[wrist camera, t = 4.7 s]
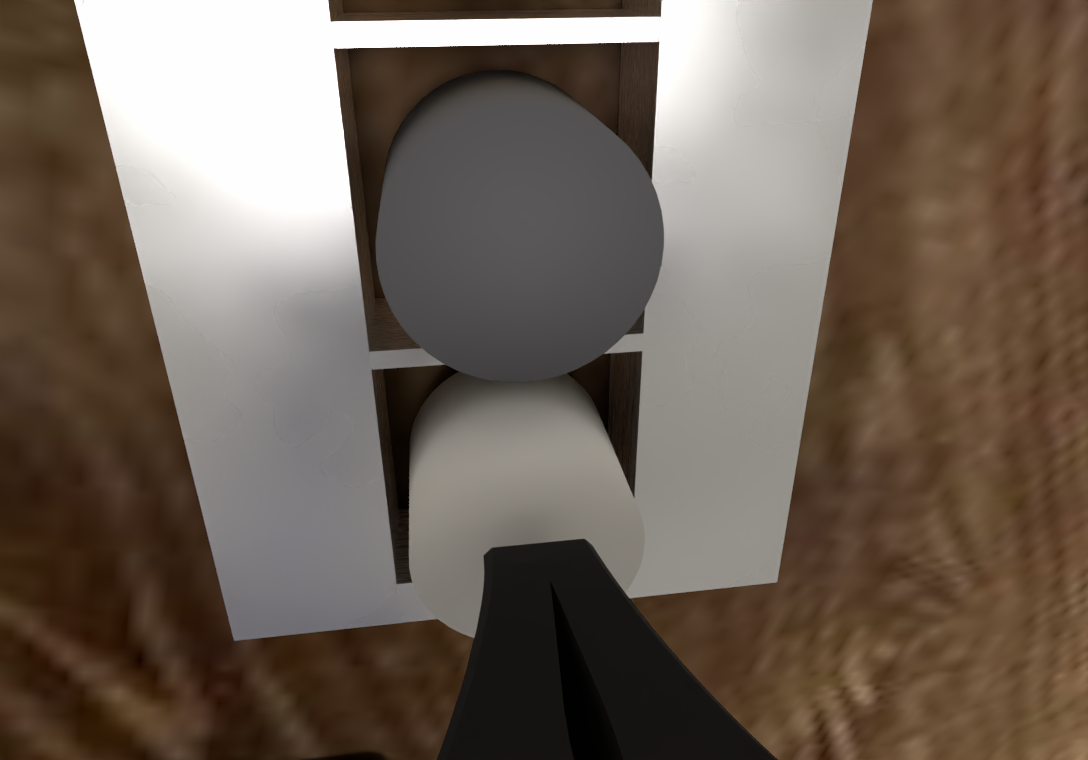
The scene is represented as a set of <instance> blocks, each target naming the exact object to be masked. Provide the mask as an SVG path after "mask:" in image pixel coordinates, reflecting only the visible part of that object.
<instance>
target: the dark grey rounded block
mask: <svg viewBox="0 0 1088 760" xmlns="http://www.w3.org/2000/svg"><path fill="white" fill-rule="evenodd" d="M663 250H664V225H663V218H662V210H661V207H660V203H659V200H658V196H657V193H656V190H655V188H654V186H653V183H652V181H651V179H650V176H649V175H648V173H647V171H646V170H645V168H644V166H643V165H642V163H641V161H640V160H639V159H638V157H637V156H636V155H635V154H634V153H633V151H632V150H631V149H630V148H629V147H628V145H627V144H626V143H624V142H623V141H622V140H621V139H620V138H619V137H618V136H617V135H616V134H615V133H614V132H612V131H611V130H610V129H609V128H608V127H606V126H605V125H604V124H603V123H602V122H600V121H599V120H598V119H597V118H596V117H594V116H593V115H592V114H591V113H590V112H588V111H587V110H586V109H585V108H584V107H582V106H581V105H580V104H579V103H578V102H576V101H575V100H574V99H573V98H572V97H570V96H569V95H568V94H567V93H565V92H564V91H562V90H561V89H559V88H558V87H556V86H555V85H553V84H551V83H549V82H547V81H545V80H543V79H541V78H538V77H535V76H532V75H529V74H526V73H520V72H515V71H505V70H491V71H480V72H476V73H471V74H467V75H463V76H461V77H458V78H456V79H453V80H451V81H448V82H447V83H445V84H443V85H441V86H440V87H438V88H436V89H435V90H433V91H432V92H431V93H429V94H428V95H427V96H425V97H424V98H423V99H422V100H421V101H420V102H419V103H418V104H417V105H416V106H415V107H414V108H413V109H412V110H411V111H410V113H409V114H408V115H407V117H406V118H405V119H404V121H403V122H402V124H401V126H400V127H399V129H398V131H397V133H396V135H395V137H394V139H393V142H392V144H391V147H390V149H389V153H388V157H387V161H386V166H385V173H384V180H383V187H382V194H381V202H380V209H379V216H378V223H377V233H376V263H377V269H378V274H379V280H380V283H381V286H382V289H383V292H384V295H385V298H386V300H387V302H388V304H389V306H390V308H391V310H392V312H393V314H394V316H395V317H396V319H397V320H398V322H399V323H400V325H401V326H402V328H403V329H404V330H405V331H406V332H407V334H408V335H409V336H410V337H411V338H412V339H413V340H414V342H416V343H417V344H418V345H419V346H420V347H421V348H422V349H424V350H425V351H426V352H427V353H428V354H430V355H431V356H433V357H434V358H436V359H437V360H439V361H440V362H441V363H443V364H445V365H447V366H449V367H451V368H453V369H455V370H457V371H460V372H462V373H465V374H468V375H471V376H474V377H478V378H482V379H486V380H491V381H500V382H531V381H538V380H544V379H548V378H552V377H556V376H560V375H563V374H566V373H568V372H571V371H574V370H576V369H578V368H580V367H582V366H584V365H586V364H588V363H590V362H592V361H593V360H595V359H596V358H598V357H599V356H601V355H602V354H604V353H605V352H607V351H608V350H609V349H610V348H611V347H612V346H614V345H615V344H616V343H617V342H618V341H619V340H620V339H621V338H622V337H623V336H624V335H625V334H626V333H627V332H628V331H629V330H630V329H631V327H632V326H633V325H634V323H635V322H636V321H637V319H638V318H639V316H640V315H641V314H642V312H643V310H644V309H645V307H646V305H647V303H648V301H649V299H650V298H651V295H652V293H653V290H654V288H655V285H656V283H657V280H658V276H659V272H660V268H661V265H662V258H663Z"/></svg>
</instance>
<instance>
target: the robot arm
mask: <svg viewBox="0 0 1088 760" xmlns="http://www.w3.org/2000/svg"><path fill="white" fill-rule="evenodd" d="M483 557H484V586H483V595H482V602H481V608H480V613H479V619H478V625H477V629H476V633H475V637H474V641H473V645H472V649H471V654H470V658H469V662H468V666H467V670H466V673H465V677H464V680H463V684H462V687H461V690H460V693H459V696H458V699H457V702H456V705H455V709H454V712H453V715H452V718H451V721H450V724H449V727H448V730H447V733H446V736H445V739H444V742H443V745H442V747H441V750H440V753H439V755H438V758H437V760H778V759H777V758H775V757H774V756H773V755H772V754H771V753H770V752H769V751H768V750H767V749H766V748H765V747H763V746H762V745H761V744H760V743H759V742H758V741H757V740H756V739H755V738H754V737H753V736H752V735H751V734H750V733H749V732H748V731H747V730H746V729H745V728H744V727H743V726H742V725H741V724H740V723H739V722H738V721H737V720H736V719H735V718H734V717H733V716H732V715H731V714H730V713H729V712H728V711H727V710H726V709H725V708H724V707H723V706H722V705H721V704H720V703H719V702H718V701H717V700H716V699H715V698H714V697H713V696H712V695H711V694H710V692H709V691H708V690H707V689H706V688H705V687H704V686H703V685H702V684H701V683H700V682H699V681H698V680H697V679H696V678H695V676H694V675H693V674H692V673H691V672H690V671H689V670H688V669H687V667H686V666H685V665H684V664H683V663H682V662H681V661H680V660H679V658H678V657H677V656H676V655H675V654H674V653H673V651H672V650H671V649H670V648H669V647H668V645H667V644H666V643H665V642H664V641H663V639H662V638H661V637H660V636H659V635H658V634H657V632H656V631H655V630H654V629H653V628H652V626H651V625H650V624H649V623H648V621H647V620H646V619H645V618H644V616H643V615H642V614H641V613H640V611H639V610H638V609H637V608H636V606H635V605H634V604H633V602H632V601H631V600H630V598H629V597H628V596H627V594H626V593H625V592H624V590H623V589H622V588H621V586H620V585H619V584H618V582H617V581H616V579H615V578H614V577H613V575H612V574H611V572H610V571H609V570H608V568H607V567H606V565H605V564H604V562H603V561H602V559H601V558H600V556H599V555H598V553H597V552H596V550H595V548H594V547H593V545H592V544H590V543H589V542H588V541H587V540H586V539H574V540H564V541H554V542H544V543H533V544H523V545H513V546H503V547H492V548H491V549H490V550H489V551H488V552H487V553H486V554H484V555H483Z"/></svg>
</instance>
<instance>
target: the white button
mask: <svg viewBox="0 0 1088 760" xmlns="http://www.w3.org/2000/svg"><path fill="white" fill-rule="evenodd" d="M574 539H586V540H587V541H588V542H589V543H590V544H592V545H593V547H594V548H595V550H596V552H597V553H598V555H599V556H600V558H601V559H602V561H603V562H604V564H605V565H606V567H607V568H608V570H609V571H610V572H611V574H612V575H613V577H614V578H615V579H616V581H617V582H618V584H619V585H620V586H621V588H622V589H623V590H624V592H626V591H627V590H628V588H629V587H630V585H631V584H632V582H633V580H634V579H635V576H636V574H637V572H638V570H639V568H640V564H641V561H642V558H643V553H644V546H645V532H644V526H643V521H642V518H641V515H640V512H639V509H638V507H637V504H636V502H635V500H634V497H633V495H632V492H631V490H630V487H629V485H628V483H627V480H626V478H625V475H624V473H623V471H622V468H621V466H620V463H619V461H618V459H617V456H616V454H615V451H614V449H613V446H612V444H611V442H610V439H609V437H608V434H607V432H606V430H605V427H604V425H603V422H602V420H601V417H600V415H599V413H598V410H597V408H596V406H595V404H594V402H593V400H592V398H591V397H590V395H589V394H588V393H587V391H586V390H585V389H584V388H583V387H582V386H581V385H580V384H579V383H578V382H577V381H576V380H575V379H574V378H572V377H571V376H570V375H568V374H567V373H566V374H563V375H560V376H556V377H552V378H548V379H544V380H538V381H531V382H500V381H491V380H486V379H482V378H478V377H474V376H471V375H468V374H465V373H462V372H460V371H459V372H457V373H456V374H454V375H452V376H451V377H449V378H448V379H447V380H445V381H444V382H442V383H441V384H440V385H439V386H438V387H437V388H436V389H435V390H434V391H433V392H432V393H431V394H430V395H429V396H428V398H427V399H426V400H425V402H424V403H423V405H422V406H421V408H420V409H419V411H418V414H417V416H416V418H415V420H414V423H413V427H412V430H411V436H410V461H409V570H410V575H411V580H412V582H413V585H414V588H415V590H416V592H417V594H418V596H419V598H420V599H421V601H422V602H423V604H424V605H425V606H426V607H427V609H428V610H429V611H430V612H431V613H432V614H433V615H434V616H435V617H436V618H437V619H439V620H440V621H441V622H443V623H444V624H446V625H447V626H448V627H450V628H452V629H454V630H456V631H458V632H460V633H462V634H464V635H467V636H470V637H472V638H474V637H475V633H476V629H477V625H478V619H479V613H480V608H481V602H482V595H483V586H484V557H483V555H484V554H486V553H487V552H488V551H489V550H490V549H491V548H492V547H503V546H513V545H523V544H533V543H544V542H554V541H564V540H574Z"/></svg>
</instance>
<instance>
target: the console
mask: <svg viewBox="0 0 1088 760" xmlns="http://www.w3.org/2000/svg"><path fill="white" fill-rule="evenodd" d="M74 1H75V5H76V9H77V13H78V17H79V21H80V25H81V29H82V33H83V37H84V41H85V45H86V49H87V53H88V57H89V61H90V65H91V69H92V73H93V77H94V81H95V85H96V89H97V93H98V97H99V101H100V105H101V109H102V113H103V117H104V121H105V125H106V129H107V133H108V137H109V141H110V145H111V149H112V153H113V157H114V161H115V165H116V169H117V173H118V177H119V181H120V185H121V189H122V193H123V197H124V201H125V205H126V209H127V213H128V217H129V221H130V225H131V229H132V233H133V237H134V241H135V245H136V250H137V254H138V258H139V262H140V266H141V270H142V274H143V278H144V282H145V286H146V290H147V294H148V298H149V302H150V306H151V310H152V314H153V318H154V322H155V326H156V330H157V334H158V338H159V342H160V346H161V350H162V354H163V358H164V362H165V366H166V370H167V374H168V378H169V382H170V386H171V390H172V394H173V398H174V402H175V406H176V410H177V414H178V418H179V422H180V426H181V430H182V434H183V438H184V442H185V446H186V450H187V454H188V458H189V462H190V466H191V470H192V474H193V478H194V482H195V486H196V490H197V494H198V498H199V502H200V506H201V510H202V514H203V518H204V522H205V526H206V530H207V534H208V538H209V542H210V546H211V550H212V554H213V558H214V563H215V567H216V571H217V575H218V579H219V583H220V587H221V591H222V595H223V599H224V603H225V607H226V611H227V615H228V619H229V623H230V627H231V631H232V635H233V639H234V641H238V640H247V639H256V638H265V637H275V636H284V635H293V634H302V633H312V632H321V631H330V630H339V629H349V628H358V627H367V626H377V625H386V624H395V623H404V622H414V621H423V620H432V619H437V618H436V617H435V616H434V615H433V614H432V613H431V612H430V611H429V610H428V609H427V607H426V606H425V605H424V604H423V602H422V601H421V599H420V598H419V596H418V594H417V592H416V590H415V588H414V585H413V582H412V580H411V575H410V570H409V508H408V509H398V500H397V490H396V481H395V472H394V463H393V454H392V445H391V436H390V427H389V418H388V409H387V400H386V391H385V382H384V373H383V369H389V368H404V367H418V366H433V365H445V364H443V363H441V362H440V361H439V360H437V359H436V358H434V357H433V356H431V355H430V354H428V353H427V352H426V351H425V350H424V349H422V348H421V347H420V346H419V345H418V344H417V343H416V342H414V340H413V339H412V338H411V337H410V336H409V335H408V334H407V332H406V331H405V330H404V329H403V328H402V326H401V325H400V323H399V322H398V320H397V319H396V317H395V316H394V314H393V312H392V310H391V308H390V306H389V304H388V302H387V300H386V298H385V297H384V298H375V291H374V282H373V273H372V264H371V255H370V246H369V237H368V228H367V219H366V209H365V200H364V191H363V182H362V173H361V164H360V155H359V146H358V137H357V128H356V119H355V110H354V101H353V92H352V83H351V73H350V64H349V55H348V48H369V47H420V46H470V45H521V44H571V43H621V57H620V86H619V115H618V137H619V138H620V139H621V140H622V141H623V142H624V143H626V144H627V145H628V147H629V148H630V149H631V150H632V151H633V153H634V154H635V155H636V156H637V157H638V159H639V160H640V161H641V163H642V165H643V166H644V168H645V170H646V171H647V173H648V175H649V176H650V179H651V181H652V183H653V186H654V188H655V190H656V193H657V196H658V200H659V203H660V207H661V210H662V218H663V225H664V250H663V258H662V265H661V268H660V272H659V276H658V280H657V283H656V285H655V288H654V290H653V293H652V295H651V298H650V299H649V301H648V303H647V305H646V307H645V309H644V310H643V312H642V314H641V315H640V316H639V318H638V319H637V321H636V322H635V323H634V325H633V326H632V327H631V329H630V330H629V331H628V332H627V333H626V334H625V335H624V336H623V337H622V338H621V339H620V340H619V341H618V342H617V343H616V344H615V345H614V346H612V347H611V348H610V349H609V350H608V351H607V352H605V353H604V354H607V353H610V373H609V402H608V431H607V434H608V437H609V439H610V442H611V444H612V446H613V449H614V451H615V454H616V456H617V459H618V461H619V463H620V466H621V468H622V471H623V473H624V475H625V478H626V480H627V483H628V485H629V487H630V490H631V492H632V495H633V497H634V500H635V502H636V504H637V507H638V509H639V512H640V515H641V518H642V521H643V526H644V532H645V546H644V553H643V558H642V561H641V564H640V568H639V570H638V572H637V574H636V576H635V579H634V580H633V582H632V584H631V585H630V587H629V588H628V590H627V591H626V592H625V593H626V594H627V596H628V597H629V598H636V597H645V596H655V595H664V594H673V593H682V592H692V591H701V590H710V589H719V588H729V587H738V586H747V585H756V584H766V583H775V582H777V579H778V573H779V567H780V561H781V555H782V549H783V543H784V537H785V531H786V525H787V519H788V513H789V507H790V500H791V494H792V488H793V482H794V476H795V470H796V464H797V458H798V452H799V446H800V440H801V434H802V428H803V421H804V415H805V409H806V403H807V397H808V391H809V385H810V379H811V373H812V367H813V361H814V355H815V349H816V342H817V336H818V330H819V324H820V318H821V312H822V306H823V300H824V294H825V288H826V282H827V276H828V270H829V263H830V257H831V251H832V245H833V239H834V233H835V227H836V221H837V215H838V209H839V203H840V197H841V190H842V184H843V178H844V172H845V166H846V160H847V154H848V148H849V142H850V136H851V130H852V124H853V118H854V111H855V105H856V99H857V93H858V87H859V81H860V75H861V69H862V63H863V57H864V51H865V45H866V39H867V32H868V26H869V20H870V14H871V8H872V2H873V0H622V9H567V10H498V11H428V12H359V13H344V10H343V1H342V0H74Z"/></svg>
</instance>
